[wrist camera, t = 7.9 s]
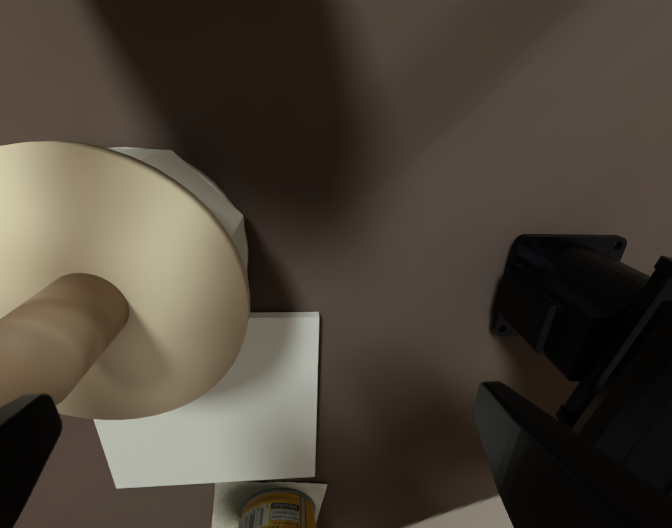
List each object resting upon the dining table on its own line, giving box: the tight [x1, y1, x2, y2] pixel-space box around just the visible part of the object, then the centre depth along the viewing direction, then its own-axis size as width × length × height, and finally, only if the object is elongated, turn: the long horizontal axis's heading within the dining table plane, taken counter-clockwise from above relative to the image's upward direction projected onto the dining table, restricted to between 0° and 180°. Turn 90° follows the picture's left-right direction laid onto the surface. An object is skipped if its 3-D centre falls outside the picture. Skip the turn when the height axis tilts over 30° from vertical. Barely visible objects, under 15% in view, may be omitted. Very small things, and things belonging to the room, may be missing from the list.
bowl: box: [108, 146, 248, 277], centre depth 16 cm, size 10×10×5 cm
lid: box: [0, 141, 250, 420], centre depth 12 cm, size 12×12×4 cm
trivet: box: [94, 312, 319, 488], centre depth 23 cm, size 14×14×1 cm
